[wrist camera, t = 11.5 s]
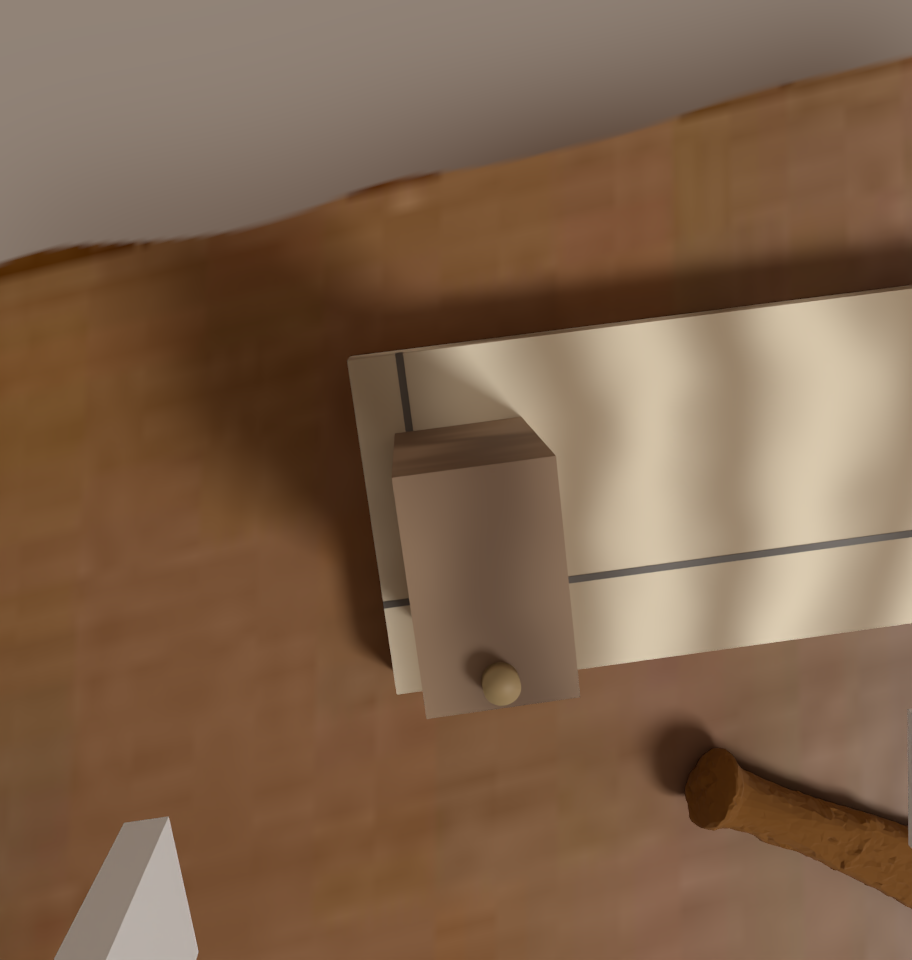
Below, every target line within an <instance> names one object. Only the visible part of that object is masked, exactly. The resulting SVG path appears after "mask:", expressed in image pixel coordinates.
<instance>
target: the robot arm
mask: <svg viewBox="0 0 912 960" xmlns="http://www.w3.org/2000/svg"><path fill="white" fill-rule="evenodd" d="M908 845H909V846H910V847H911V848H912V709H908ZM197 955H198V947H197V943H196V938H195V934H194V929H193V925H192V920H191V915H190V911H189V906H188V902H187V897H186V893H185V888H184V884H183V879H182V875H181V870H180V866H179V861H178V857H177V852H176V848H175V843H174V838H173V834H172V829H171V825H170V820H169V817H162V818H155V819H148V820H141V821H134V822H128V823H124V824H123V826H122V828H121V830H120V832H119V834H118V836H117V838H116V840H115V842H114V844H113V846H112V848H111V849H110V851H109V853H108V855H107V857H106V859H105V861H104V863H103V865H102V867H101V869H100V871H99V873H98V875H97V877H96V879H95V881H94V882H93V884H92V886H91V888H90V890H89V892H88V894H87V896H86V898H85V900H84V902H83V904H82V906H81V908H80V910H79V912H78V913H77V915H76V917H75V919H74V921H73V923H72V925H71V927H70V929H69V931H68V933H67V935H66V937H65V939H64V941H63V943H62V945H61V946H60V948H59V950H58V952H57V954H56V956H55V958H54V960H196V958H197Z"/></svg>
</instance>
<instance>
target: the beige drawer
mask: <svg viewBox="0 0 912 960" xmlns="http://www.w3.org/2000/svg"><path fill="white" fill-rule="evenodd" d="M392 484H393V491H394V498H395V505H396V511H397V518H398V525H399V532H400V539H401V546H402V553H403V560H404V567H405V574H406V580H407V587H408V594H409V601H410V608H411V615H412V622H413V629H414V636H415V643H416V649H417V656H418V663H419V670H420V677H421V684H422V691H423V698H424V705H425V712H426V718H427V719H430V718H437V717H444V716H451V715H458V714H465V713H472V712H479V711H486V710H493V709H500V708H507V707H514V706H521V705H528V704H535V703H542V702H549V701H556V700H563V699H570V698H577V697H580V689H579V680H578V670H577V660H576V650H575V640H574V630H573V620H572V610H571V600H570V590H569V580H568V570H567V560H566V550H565V540H564V530H563V520H562V510H561V500H560V490H559V480H558V470H557V460H556V455H555V454H554V453H553V452H552V451H551V450H550V448H549V447H548V446H547V445H546V444H545V443H544V442H543V441H542V439H541V438H540V437H539V436H538V435H537V434H536V433H535V431H534V430H533V429H532V428H531V427H530V426H529V425H528V424H527V422H526V421H525V420H524V419H523V418H522V417H515V418H508V419H500V420H493V421H485V422H478V423H470V424H463V425H455V426H448V427H440V428H432V429H425V430H417V431H410V432H402V433H395V437H394V451H393V466H392Z"/></svg>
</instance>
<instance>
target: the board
mask: <svg viewBox="0 0 912 960" xmlns="http://www.w3.org/2000/svg"><path fill="white" fill-rule="evenodd" d="M347 364H348V371H349V377H350V384H351V391H352V397H353V404H354V411H355V417H356V424H357V431H358V438H359V444H360V451H361V458H362V464H363V471H364V478H365V484H366V491H367V498H368V505H369V511H370V518H371V525H372V531H373V538H374V545H375V551H376V558H377V565H378V571H379V578H380V585H381V592H382V598H383V605H384V612H385V618H386V625H387V632H388V638H389V645H390V652H391V659H392V665H393V672H394V679H395V685H396V692H397V694H404V693H411V692H419V691H422V684H421V677H420V670H419V663H418V656H417V649H416V643H415V636H414V629H413V622H412V615H411V608H410V601H409V594H408V587H407V580H406V574H405V567H404V560H403V553H402V546H401V539H400V532H399V525H398V518H397V511H396V505H395V498H394V491H393V484H392V466H393V451H394V437H395V433H402V432H410V431H417V430H425V429H432V428H440V427H448V426H455V425H463V424H470V423H478V422H485V421H493V420H500V419H508V418H515V417H522V418H523V419H524V420H525V421H526V422H527V424H528V425H529V426H530V427H531V428H532V429H533V430H534V431H535V433H536V434H537V435H538V436H539V437H540V438H541V439H542V441H543V442H544V443H545V444H546V445H547V446H548V447H549V448H550V450H551V451H552V452H553V453H554V454H555V455H556V460H557V470H558V480H559V490H560V500H561V510H562V520H563V530H564V540H565V550H566V560H567V570H568V580H569V590H570V600H571V610H572V620H573V630H574V640H575V650H576V660H577V669H585V668H592V667H599V666H606V665H613V664H621V663H628V662H635V661H642V660H650V659H657V658H664V657H671V656H678V655H686V654H693V653H700V652H707V651H715V650H722V649H729V648H736V647H743V646H751V645H758V644H765V643H772V642H779V641H787V640H794V639H801V638H808V637H816V636H823V635H830V634H837V633H844V632H852V631H859V630H866V629H873V628H880V627H888V626H895V625H902V624H909V623H912V285H907V286H899V287H891V288H884V289H876V290H868V291H860V292H852V293H844V294H836V295H829V296H821V297H813V298H805V299H797V300H789V301H781V302H773V303H766V304H758V305H750V306H742V307H734V308H726V309H718V310H710V311H703V312H695V313H687V314H679V315H671V316H663V317H655V318H648V319H640V320H632V321H624V322H616V323H608V324H600V325H593V326H585V327H577V328H569V329H561V330H553V331H545V332H537V333H530V334H522V335H514V336H506V337H498V338H490V339H482V340H475V341H467V342H459V343H451V344H443V345H435V346H427V347H419V348H412V349H404V350H396V351H388V352H380V353H372V354H364V355H357V356H350V357H349V359H348V360H347Z"/></svg>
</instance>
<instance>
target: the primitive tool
mask: <svg viewBox="0 0 912 960" xmlns="http://www.w3.org/2000/svg"><path fill="white" fill-rule="evenodd" d="M685 796H686V801H687V803H688V809H689V818H690V819H691V821H692V822H693V823H695V824H696V825H697V826H699V827H701V828H704V829H708V830H713V831H714V830H717V829H720V828H731V829H734V830H737V831H741V832H747V833H750V834H752V835H754V836H756V837H757V838H758V839H759V840H760V841H763V842H765V843H768V844H771V845H775V846H779V847H782V848H785V849H790V850H794V851H797V852H800V853H802V854H803V855H805V856H808V857H811V858H813V859H814V860H818V861H820V862H822V863H823V864H825V865H827V866H828V867H830V868H831V869H833V870H838V871H840V872H842V873H844V874H846V875H848V876H851V877H852V878H854V879H856V880H859V881H860V882H862V883H864V884H865V885H867V886H871V887H874V888H876V889H877V890H879V891H881V892H882V893H884V894H885V895H887V896H890V897H893V898H894V899H896V900H897V901H899V902H900V903H902V904H903V905H905V906H907V907H910V908H912V848H911V847H910V846H909V845H908V826H906V825H901V824H899V823H897V822H894V821H891V820H888V819H884V818H881V817H878V816H875V815H873V814H868V813H865V812H863V811H859V810H855V809H852V808H849V807H846V806H843V805H837V804H834V803H832V802H828V801H824V800H822V799H820V798H819V799H816V798H814V797H812V796H810V795H805V794H803V793H801V792H800V791H793V790H790V789H788V788H785V787H782V786H780V785H778V784H776V783H774V782H772V781H767V780H765V779H763V778H761V777H759V776H757V775H754V774H753V773H751V772H749V771H746V770H743V769H742V768H741V767H740V766H739V765H738V764H737V762H736V759H735V758H734V757H733V755H732V754H731V753H729V752H728V751H727V750H726V749H721V748H715V749H711V750H710V751H708V752H707V753H705V754H704V755H703V756H702V757H701V758H700V759H699V761H698V762H697V766H696V767H695V768H694V769H693V770H692V771H691V773H690V774H689V779H688V781H687V784H686V786H685Z"/></svg>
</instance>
